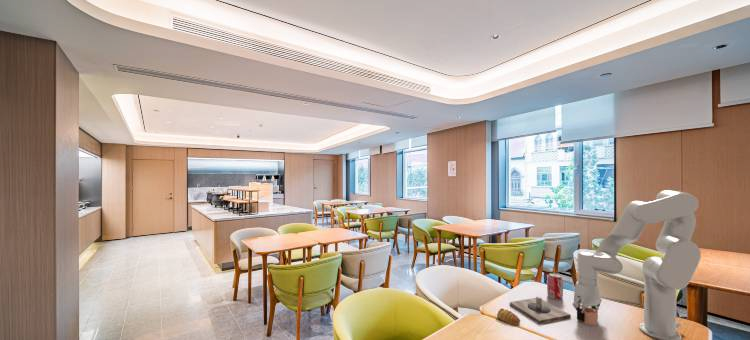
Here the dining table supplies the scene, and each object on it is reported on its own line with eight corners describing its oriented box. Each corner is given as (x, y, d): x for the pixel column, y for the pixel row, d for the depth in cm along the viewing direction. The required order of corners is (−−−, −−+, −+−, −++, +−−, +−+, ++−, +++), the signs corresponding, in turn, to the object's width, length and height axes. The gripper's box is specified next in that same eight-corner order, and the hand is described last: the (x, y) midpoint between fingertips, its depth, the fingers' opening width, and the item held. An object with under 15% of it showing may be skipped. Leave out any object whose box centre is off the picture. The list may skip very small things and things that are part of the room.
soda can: (562, 296, 154) (562, 274, 154) (563, 301, 148) (563, 278, 148) (547, 293, 158) (547, 271, 157) (547, 298, 152) (547, 275, 151)
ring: (585, 315, 134) (585, 304, 134) (601, 323, 128) (601, 312, 127) (574, 317, 132) (574, 307, 132) (589, 326, 126) (589, 314, 126)
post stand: (538, 300, 150) (538, 287, 150) (570, 317, 132) (570, 303, 132) (509, 305, 145) (509, 292, 145) (539, 323, 127) (539, 309, 127)
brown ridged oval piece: (523, 322, 129) (523, 314, 129) (515, 327, 125) (515, 319, 125) (503, 313, 137) (503, 305, 137) (495, 318, 133) (495, 310, 133)
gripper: (593, 274, 136) (593, 312, 136) (564, 279, 131) (564, 317, 131) (610, 281, 128) (610, 320, 129) (580, 285, 124) (580, 326, 124)
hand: (587, 318), depth 130 cm, fingers closed on ring, 7 cm apart
